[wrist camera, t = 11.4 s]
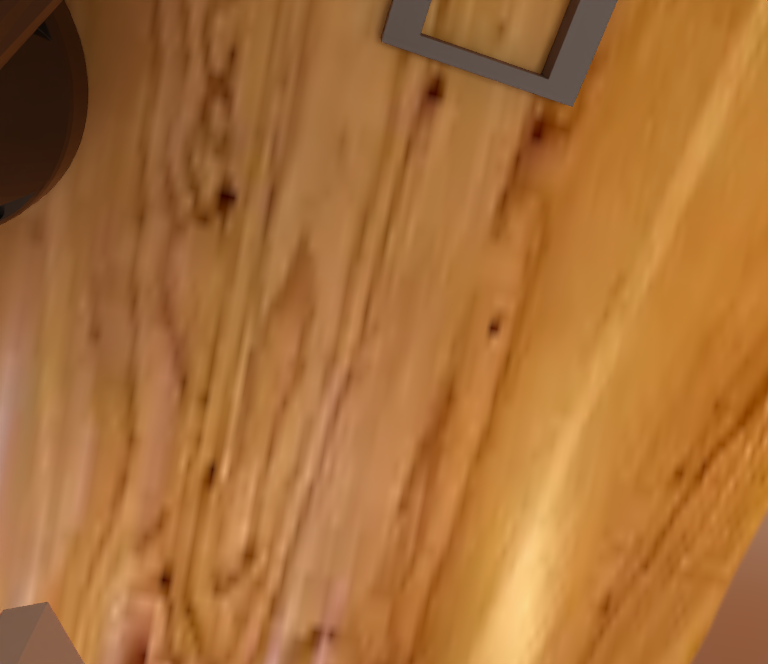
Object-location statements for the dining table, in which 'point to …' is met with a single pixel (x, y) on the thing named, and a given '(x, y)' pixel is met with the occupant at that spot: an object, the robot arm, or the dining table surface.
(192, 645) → the dining table surface
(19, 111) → the robot arm
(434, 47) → the grey double frame
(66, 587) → the dining table surface
